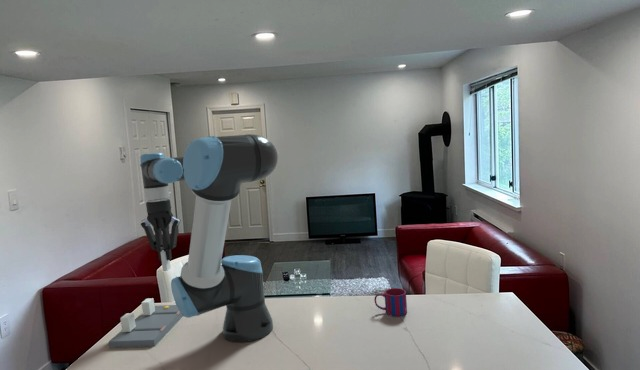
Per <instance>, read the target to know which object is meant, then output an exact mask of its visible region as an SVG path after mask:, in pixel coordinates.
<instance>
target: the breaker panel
mask: <svg viewBox="0 0 640 370" xmlns="http://www.w3.org/2000/svg"><path fill="white" fill-rule="evenodd" d="M154 306H155V311H154V312H153V313H152V314H151V315H143V312H142V313H140V314H139V315H138V316H137V317H135V324H136V327H135V328H134V329H133V330H131V331H130V332H122V329H121V330H120V331H119V332H118V333H117V334H116V335H114V336H113V337H112V338H111V339H110V340H108V344H109V348H111V349H113V348H114V349H115V348H142V347H143V348H144V347H156V346H157V345H158V344H159V342H161V340H162V339H163V338H164V337H165V336H166V335H167V334H168V333H169V332H170V331H171V330H172V328H174V327H175V325H176V324H177V323H178V322H179V321H180V320H181V319H182V318H183V317H184V316H183V315H182V314H181V313H180V311H179V310H178V308H177V305H176V304H168V305H167V304H166V305H154Z"/></svg>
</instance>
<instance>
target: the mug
mask: <svg viewBox="0 0 640 370" xmlns="http://www.w3.org/2000/svg"><path fill="white" fill-rule="evenodd" d="M379 296H382V297H384V305H385V307H383V306H380V305H379V304H378V303H377V297H379ZM374 304H375V306H376V307H377V308H378V309H380V310H382V311H385V314H386V315H387V316H390V317H393V318H394V317H395V318H397V317H404V316H405V315H407V314H408V306H407V305H408V304H407V291H406V290H405V289H403V288H399V287H393V288H392V287H391V288H388V289H386V290H385V291H384V293H377V294H375V296H374Z"/></svg>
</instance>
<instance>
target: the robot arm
mask: <svg viewBox="0 0 640 370" xmlns="http://www.w3.org/2000/svg"><path fill="white" fill-rule="evenodd" d="M139 159H140V167H141V168H140V169H141V170H140V171H141V176H142V184H143V191H144V199H145V201H146V202H145V206H146V213H147V216H146V220H144V221H143V222H141V223H140V226H141V227H142V228H143V230H144V232H145V235H146V238H147V239H148V243H149V246H150V248H151V250H153V251H157V254H158V256H157V257H158V260H159V262H161V266H162V272H167V271H170V270H171V261H170V260H172V258H173V257H172V256H173V255H172V249H174V248H176V247H177V242H178V232H179V225H180V224H181V222H182V221H181V219H180V218H177V217H174V215H173V213H172V203H171V200H170V197H171V196H170V188H169V184H174V183H176V182H181V181H185V183H186V185H187V186H188V187H189V188H190V191H191V193H192V194H193V195H194V196H195V200H194V201H195V203H194V208H193V209H194V211H193V219H192V227H191V233H190V243H189V252H188V259H187V262H185V263H184V264H183V266H182V267H181V270H180V276H175V277H173V278H172V279H171V280H170V288H171V293H172V296H173V299H174V304H175V305H177V308H178V310H179V311H180V313H181V314H182V315H183V317H185V318H187V319H188V318H193V317H196V316H198V317H199V316H201V315H202V314H203V315H204V314H206V313H209V312H212V311H214V310H217V309H220V308H222V307H226V310H225V316H224V320H223V324H222V334H223V337H224V338H225V339H227V340H228V341H231V342H238V343H245V342H251V341H252V342H253V341H256V340H259V339H261V338H264V337H266V336H267V335H268V334H270V333H271V332H272V331H273V329H274V323H273V322H274V321H273V318H272V316H271V313H270V311H269V309H268V307H267V305H266V300H265V298H266V297H265V290H264V289H265V288H264V278H263V277H264V276H263V268H262V264H261V260H260V259H259V258H258V257H256V256H253V255H242V254H241V255H228V256H224V257H223V253H224V246H225V241H226V235H227V229H228V223H229V216H230V211H231V206H232V201H233V200H235V199H237V198H238V196H239V194H240V191H241V190H240V189H241V185H242V184H244V183H252V182H257V181H260V180H263V179H266V178H267V177H268V176H270V175H271V174H272V173H273V172H274V170H275V169H276V167H277V164H278V159H279V156H278V152H277V149H276V147H275V145H274V144H273V142H272V141H270V140H269V139H268V138H267V137H265V136H262V135H258V134H252V133H251V134H239V135H237V134H236V135H226V136H225V135H224V136H214V135H213V136H212V135H211V136H206V137H200V138H195V139H194V140H192V141H191V142H190V143H189V144H188V145H187V146H186V149H185V152H184V155H183V156H177V157H165V154H164V152H151V153H143V154H141V155H140V157H139ZM170 224H172V225H171V230H170ZM152 227H153V229H152ZM222 257H223V258H222Z"/></svg>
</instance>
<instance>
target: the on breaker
mask: <svg viewBox="0 0 640 370" xmlns="http://www.w3.org/2000/svg"><path fill="white" fill-rule="evenodd" d="M135 319H136V317H135V313H134V312H130V313H129V312H128V313H125V314H124V315H122V316H121V317H120V325H121V330H122V332H130V331H131V330H133V329H134V328H135V327H136V324H135Z"/></svg>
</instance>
